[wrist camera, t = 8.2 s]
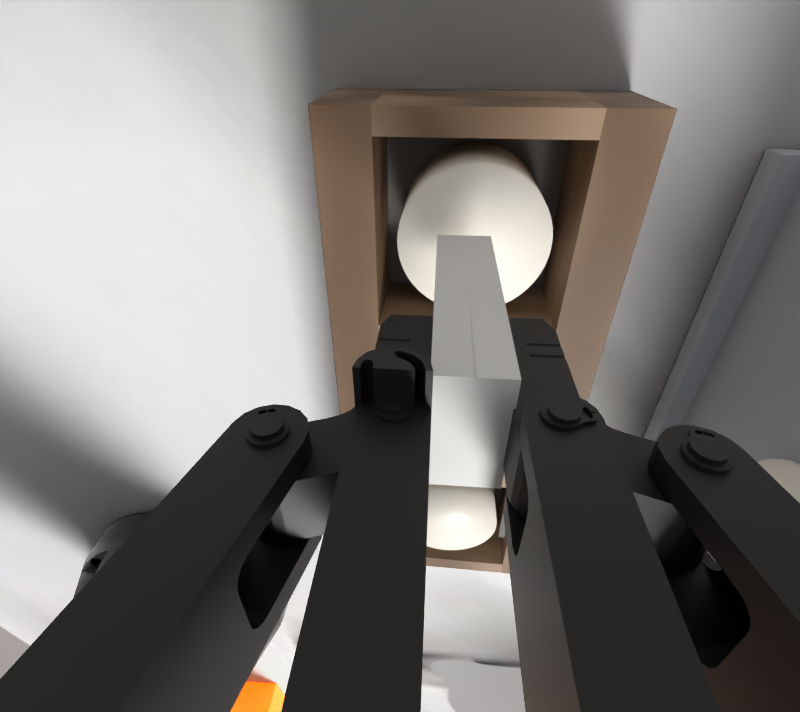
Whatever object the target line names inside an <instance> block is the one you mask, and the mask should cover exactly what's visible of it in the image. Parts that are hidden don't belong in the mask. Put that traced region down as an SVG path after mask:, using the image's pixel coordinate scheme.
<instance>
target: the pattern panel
mask: <svg viewBox="0 0 800 712" xmlns="http://www.w3.org/2000/svg"><path fill="white" fill-rule="evenodd" d="M676 425H694V426H698V427H702V428H706V429H709V430H713V431H715V432H717V433H719V434H721V435H723V436H725V437H727V438H729V439H731V440H732V441H733V442H735V443H736V444H737V445H739V446H740V447H741V448H743V449H744V450H745V451H746V452H747V453H748V454H749V455H750V456H751V457H752V458H753V459H754V460H755V461H756V462H758V463H759V464H760V465H761V466H762V467H763V468H764V469H765V470H766V471H767V472H768V473H769V474H770V475H771V476H772V477H773V478H774V479H775V480H776V481H777V482H778V483H779V484H780V485H781V486H782V487H783V488H784V489H785V490H786V491H787V492H789V493H790V494H791V495H792V496H793V497H794V498H795V499H796V500H797V501H798V502H799V503H800V149H771V148H766V150H765V153H764V155H763V157H762V160H761V162H760V164H759V167H758V169H757V171H756V174H755V176H754V178H753V181H752V183H751V185H750V188H749V190H748V193H747V195H746V197H745V200H744V202H743V204H742V207H741V209H740V211H739V214H738V216H737V218H736V221H735V223H734V225H733V228H732V230H731V232H730V235H729V237H728V240H727V242H726V244H725V247H724V249H723V251H722V254H721V256H720V258H719V261H718V263H717V265H716V268H715V270H714V272H713V275H712V277H711V280H710V282H709V284H708V287H707V289H706V291H705V294H704V296H703V298H702V301H701V303H700V305H699V308H698V310H697V312H696V315H695V317H694V320H693V322H692V324H691V327H690V329H689V331H688V334H687V336H686V338H685V341H684V343H683V345H682V348H681V350H680V352H679V355H678V357H677V359H676V362H675V364H674V367H673V369H672V371H671V374H670V376H669V378H668V381H667V383H666V385H665V388H664V390H663V392H662V395H661V397H660V399H659V402H658V404H657V407H656V409H655V411H654V414H653V416H652V418H651V421H650V423H649V425H648V428H647V430H646V432H645V435H644V437H643V438H645V439H648V440H652V441H657V439H658V437H659V436H660V434H661V433H662V432H663V431H664V430H665V429H667V428H670V427H673V426H676ZM708 553H709V552H708ZM709 554H710V553H709ZM710 556H711V554H710ZM711 557H712V556H711ZM712 558H713V557H712ZM713 559H714V558H713Z"/></svg>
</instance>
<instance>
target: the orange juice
mask: <svg viewBox="0 0 800 712" xmlns="http://www.w3.org/2000/svg"><path fill="white" fill-rule="evenodd" d="M284 697H285V696H284V694H283V693H282V691H281V690H280V688H279V687H278V685H277V684H276V683H264V682H249V681H246V683H245V685H244V687H243V689H242V690H241V692H240V694H239V696H238V698H237V700H236V702H235V704H234V706H233V708H232V710H231V711H230V712H281V710H282V706H283V701H284Z"/></svg>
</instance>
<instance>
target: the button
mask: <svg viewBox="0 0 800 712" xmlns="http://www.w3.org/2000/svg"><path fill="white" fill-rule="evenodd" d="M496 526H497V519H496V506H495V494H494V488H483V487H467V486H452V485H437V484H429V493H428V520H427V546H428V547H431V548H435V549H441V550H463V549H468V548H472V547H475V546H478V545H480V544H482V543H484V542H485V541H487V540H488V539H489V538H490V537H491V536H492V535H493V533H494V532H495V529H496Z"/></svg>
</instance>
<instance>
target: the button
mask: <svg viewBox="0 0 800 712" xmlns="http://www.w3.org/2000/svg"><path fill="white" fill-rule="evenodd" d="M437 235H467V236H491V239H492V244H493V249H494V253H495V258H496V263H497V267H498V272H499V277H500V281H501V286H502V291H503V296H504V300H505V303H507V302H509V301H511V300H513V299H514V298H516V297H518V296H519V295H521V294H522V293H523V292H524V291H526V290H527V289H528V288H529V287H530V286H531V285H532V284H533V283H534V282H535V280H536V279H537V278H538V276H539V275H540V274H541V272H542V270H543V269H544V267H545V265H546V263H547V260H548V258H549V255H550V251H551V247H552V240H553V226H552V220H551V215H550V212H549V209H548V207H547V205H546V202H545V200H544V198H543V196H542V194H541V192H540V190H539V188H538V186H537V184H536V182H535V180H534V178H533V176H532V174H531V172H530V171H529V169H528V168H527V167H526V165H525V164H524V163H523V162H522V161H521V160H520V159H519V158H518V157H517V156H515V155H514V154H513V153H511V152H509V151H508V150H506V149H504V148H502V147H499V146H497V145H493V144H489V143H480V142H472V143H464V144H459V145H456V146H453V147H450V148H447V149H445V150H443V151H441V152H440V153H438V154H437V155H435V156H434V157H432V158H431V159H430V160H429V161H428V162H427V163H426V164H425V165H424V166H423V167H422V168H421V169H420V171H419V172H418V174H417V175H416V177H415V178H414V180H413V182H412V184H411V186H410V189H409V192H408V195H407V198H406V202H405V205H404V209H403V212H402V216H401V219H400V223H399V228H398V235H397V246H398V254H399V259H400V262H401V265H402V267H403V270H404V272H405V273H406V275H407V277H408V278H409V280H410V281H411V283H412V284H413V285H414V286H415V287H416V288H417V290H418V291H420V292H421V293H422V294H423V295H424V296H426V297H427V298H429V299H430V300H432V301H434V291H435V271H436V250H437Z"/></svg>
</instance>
